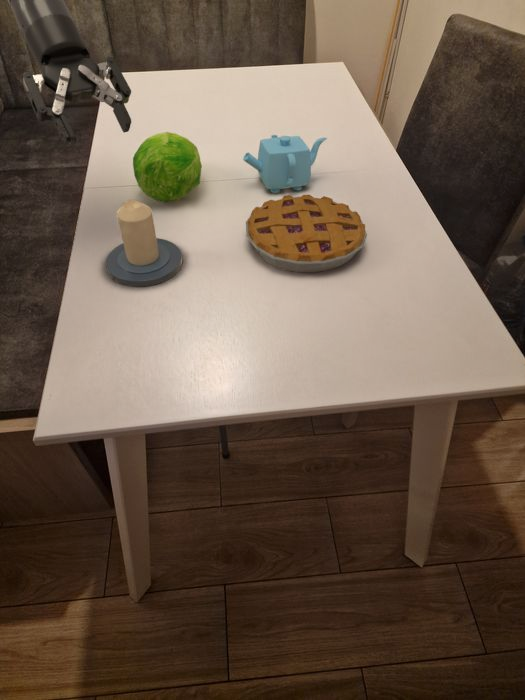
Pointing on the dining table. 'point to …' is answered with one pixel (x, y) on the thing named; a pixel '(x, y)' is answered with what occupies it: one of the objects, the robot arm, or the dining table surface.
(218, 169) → the dining table surface
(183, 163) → the lettuce
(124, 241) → the candle
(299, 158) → the teapot
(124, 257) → the saucer
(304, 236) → the pie
